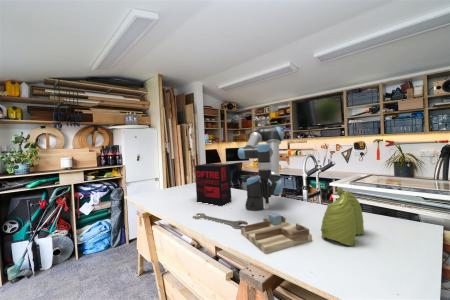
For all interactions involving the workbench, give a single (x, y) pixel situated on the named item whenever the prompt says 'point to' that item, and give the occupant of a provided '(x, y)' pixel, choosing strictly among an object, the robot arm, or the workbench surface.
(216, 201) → the product box
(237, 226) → the wrench
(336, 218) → the lungs
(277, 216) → the block
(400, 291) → the workbench surface
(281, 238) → the tan flat ridged piece
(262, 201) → the robot arm
